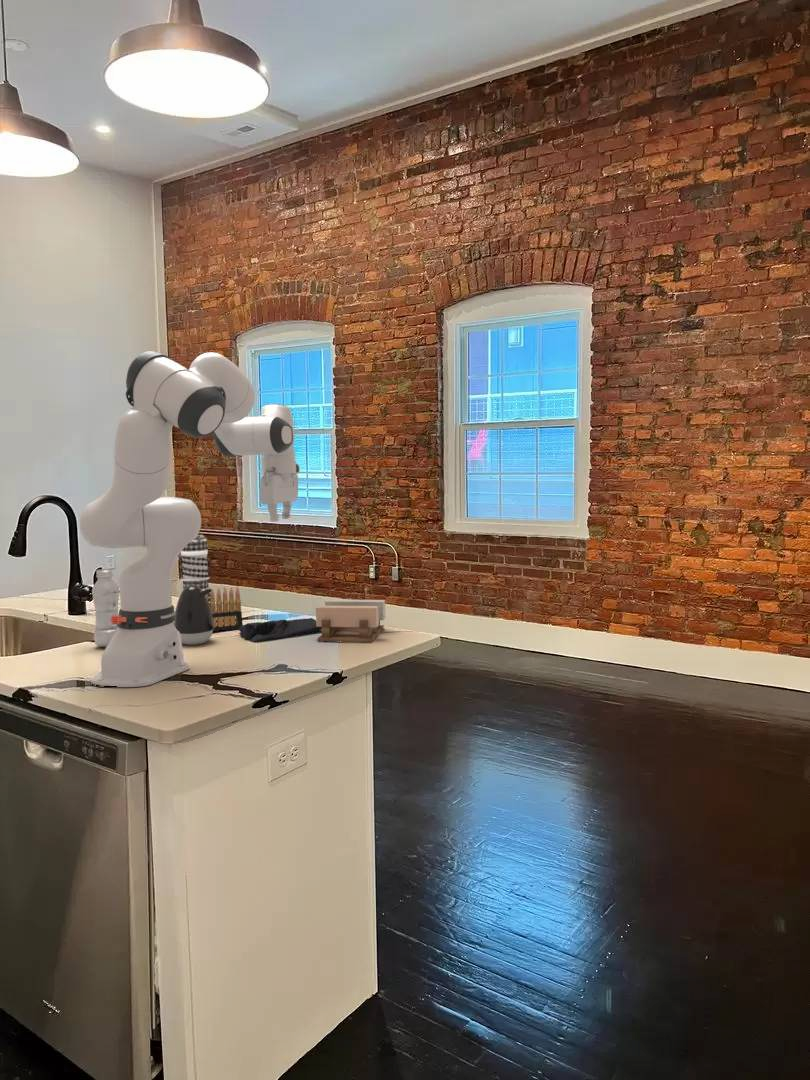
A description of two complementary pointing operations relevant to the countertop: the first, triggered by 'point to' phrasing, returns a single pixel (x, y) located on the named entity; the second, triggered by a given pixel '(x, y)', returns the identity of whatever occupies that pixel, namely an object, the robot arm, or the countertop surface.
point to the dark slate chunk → (277, 629)
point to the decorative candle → (195, 564)
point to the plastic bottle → (105, 606)
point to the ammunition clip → (226, 610)
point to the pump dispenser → (194, 616)
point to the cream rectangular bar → (360, 604)
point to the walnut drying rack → (350, 632)
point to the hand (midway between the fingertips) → (280, 519)
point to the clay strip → (347, 615)
